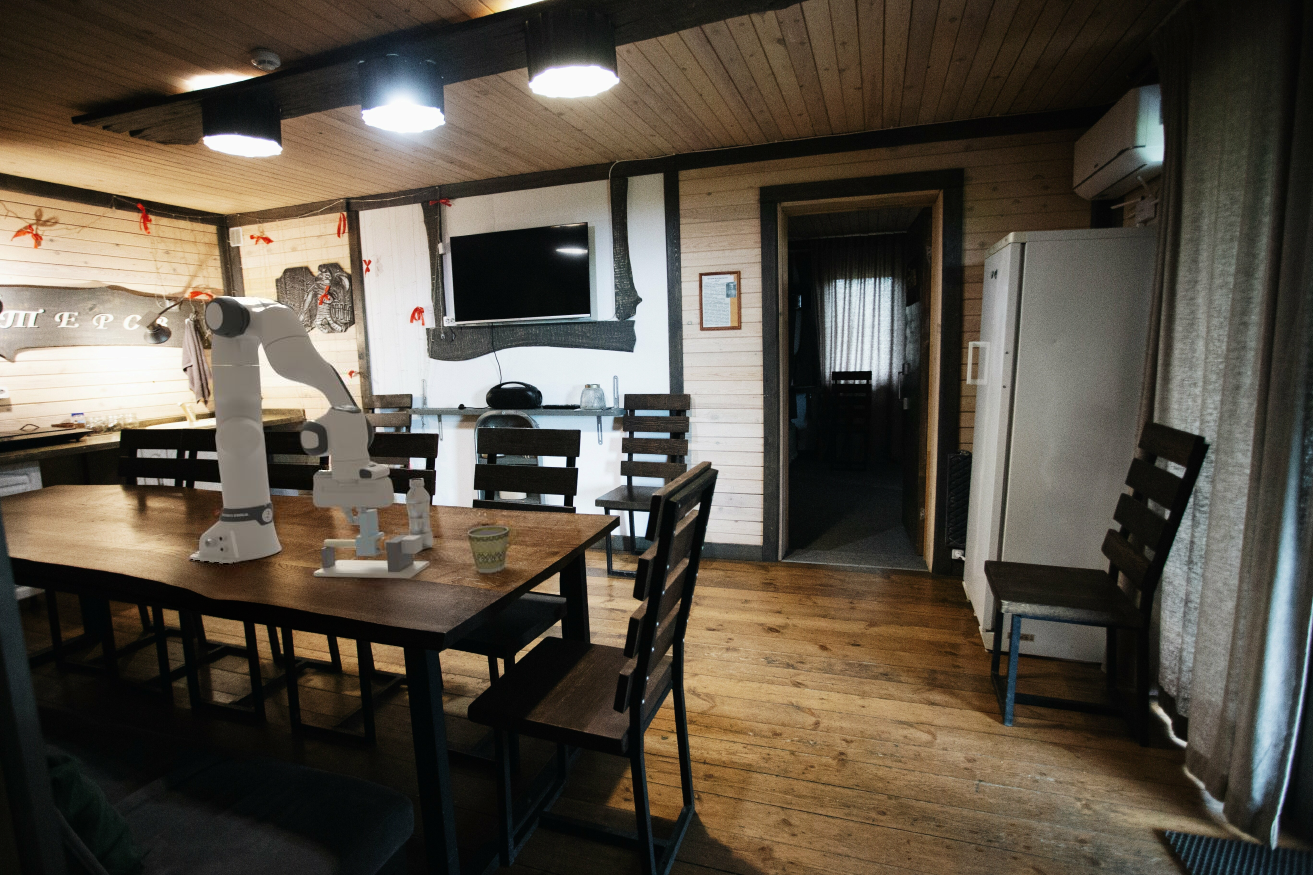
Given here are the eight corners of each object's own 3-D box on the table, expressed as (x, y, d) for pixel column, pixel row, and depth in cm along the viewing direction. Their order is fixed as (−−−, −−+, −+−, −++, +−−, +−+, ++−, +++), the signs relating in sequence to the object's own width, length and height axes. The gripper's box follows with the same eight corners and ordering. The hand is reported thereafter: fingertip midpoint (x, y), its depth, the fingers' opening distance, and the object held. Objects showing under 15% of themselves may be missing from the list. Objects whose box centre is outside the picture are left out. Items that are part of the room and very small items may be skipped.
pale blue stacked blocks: (356, 555, 161) (353, 513, 159) (367, 550, 165) (364, 509, 164) (375, 556, 160) (371, 513, 159) (385, 550, 165) (382, 509, 163)
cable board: (313, 576, 160) (310, 541, 159) (338, 563, 170) (335, 531, 169) (410, 578, 157) (407, 543, 156) (429, 565, 166) (427, 532, 165)
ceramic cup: (476, 578, 155) (474, 538, 154) (465, 567, 164) (462, 529, 163) (527, 568, 162) (525, 529, 161) (514, 558, 171) (512, 521, 169)
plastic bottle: (426, 552, 178) (421, 481, 175) (404, 551, 179) (399, 481, 177) (438, 546, 184) (433, 477, 182) (417, 545, 185) (412, 477, 183)
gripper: (304, 472, 159) (309, 526, 161) (381, 472, 156) (385, 527, 158) (321, 468, 165) (325, 520, 167) (395, 468, 162) (399, 521, 164)
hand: (355, 524), depth 162 cm, fingers closed
